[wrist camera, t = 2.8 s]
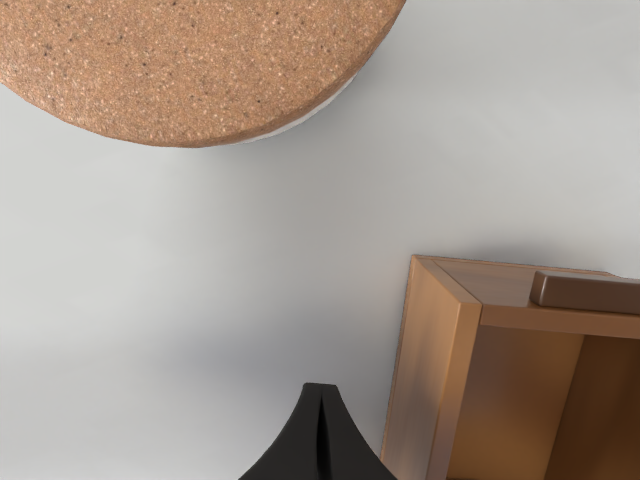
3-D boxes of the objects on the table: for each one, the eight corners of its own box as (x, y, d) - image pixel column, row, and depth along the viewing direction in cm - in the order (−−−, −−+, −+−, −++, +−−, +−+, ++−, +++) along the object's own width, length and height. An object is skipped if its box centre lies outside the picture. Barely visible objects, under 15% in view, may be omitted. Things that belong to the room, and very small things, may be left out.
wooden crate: (540, 500, 18) (630, 638, 13) (375, 487, 18) (397, 622, 13) (612, 250, 15) (768, 297, 10) (414, 232, 15) (466, 270, 10)
